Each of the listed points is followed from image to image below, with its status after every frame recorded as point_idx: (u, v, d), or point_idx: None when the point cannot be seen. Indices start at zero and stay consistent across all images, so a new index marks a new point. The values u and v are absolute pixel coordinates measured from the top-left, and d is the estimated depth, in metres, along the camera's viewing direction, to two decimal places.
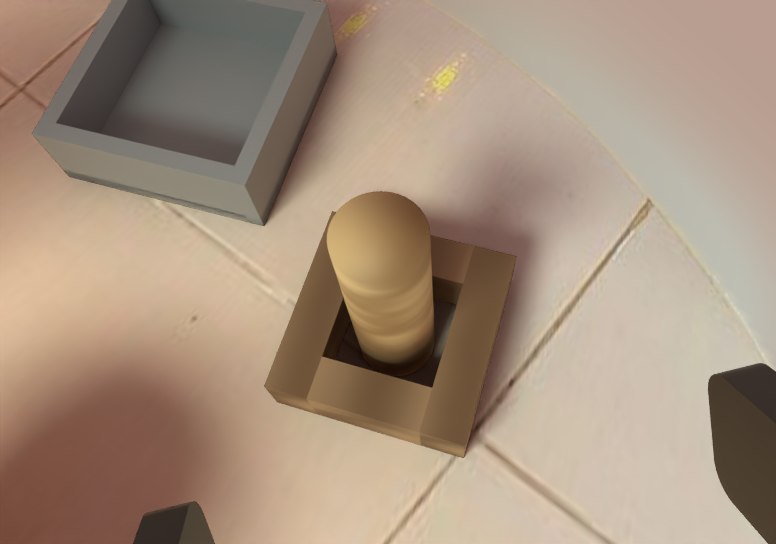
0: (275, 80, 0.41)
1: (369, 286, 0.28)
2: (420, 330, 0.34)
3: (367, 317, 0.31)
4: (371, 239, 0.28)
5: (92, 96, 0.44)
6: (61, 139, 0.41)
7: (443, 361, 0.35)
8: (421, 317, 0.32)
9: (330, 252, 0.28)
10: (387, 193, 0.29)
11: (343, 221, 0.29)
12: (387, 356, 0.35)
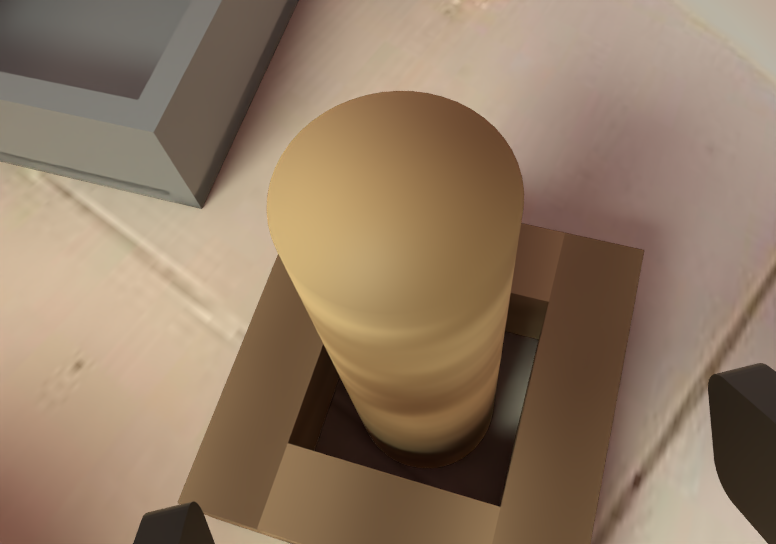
0: None
1: (373, 320, 0.11)
2: (478, 399, 0.17)
3: (370, 382, 0.14)
4: (377, 201, 0.11)
5: None
6: None
7: (520, 452, 0.18)
8: (484, 376, 0.16)
9: (274, 235, 0.11)
10: (413, 94, 0.12)
11: (308, 161, 0.12)
12: (411, 443, 0.18)
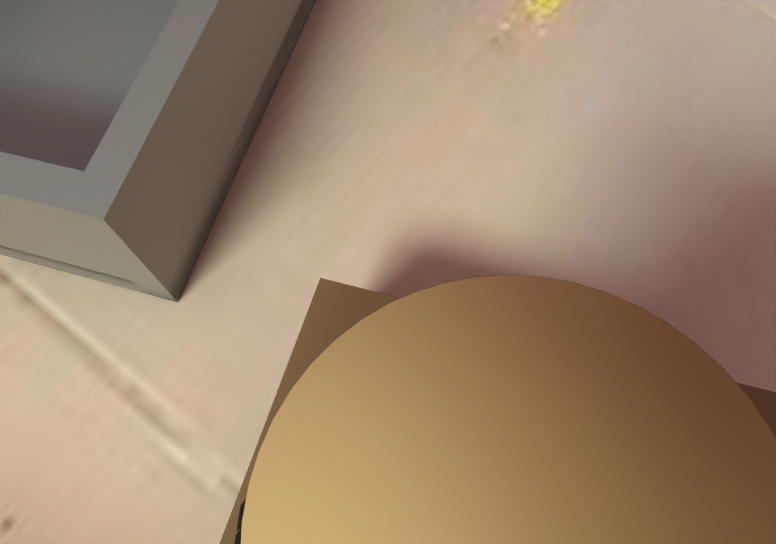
0: None
1: None
2: None
3: None
4: None
5: None
6: None
7: None
8: None
9: None
10: (542, 285, 0.06)
11: (329, 435, 0.06)
12: None
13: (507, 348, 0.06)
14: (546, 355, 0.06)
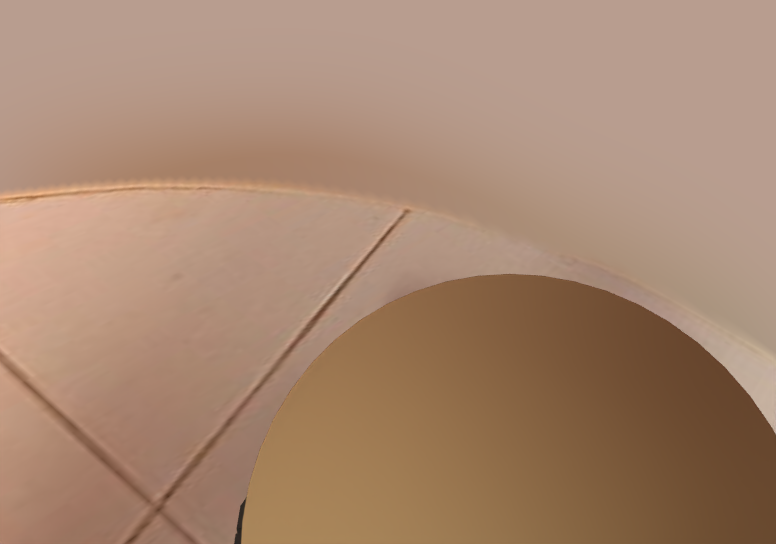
0: None
1: None
2: None
3: None
4: None
5: None
6: None
7: None
8: None
9: None
10: (544, 284, 0.06)
11: (330, 435, 0.06)
12: None
13: (508, 347, 0.06)
14: (547, 354, 0.06)
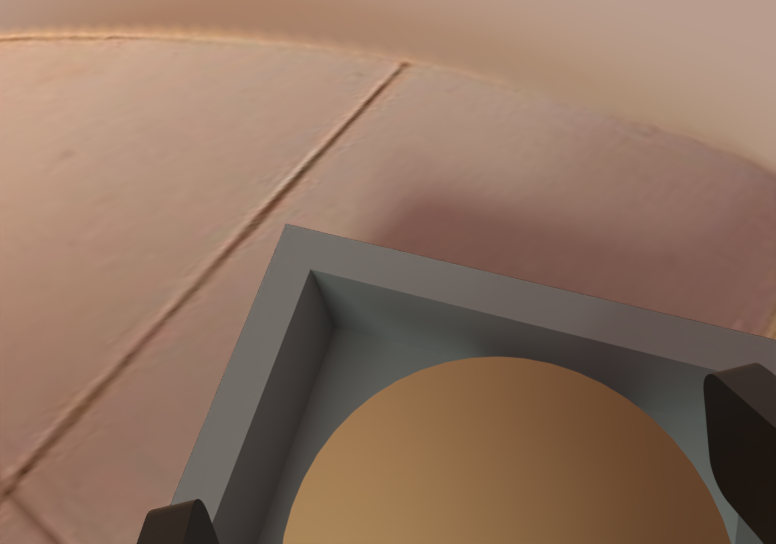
0: None
1: None
2: None
3: None
4: None
5: None
6: None
7: None
8: None
9: None
10: (526, 366, 0.07)
11: (349, 493, 0.07)
12: None
13: (496, 420, 0.07)
14: (528, 427, 0.07)
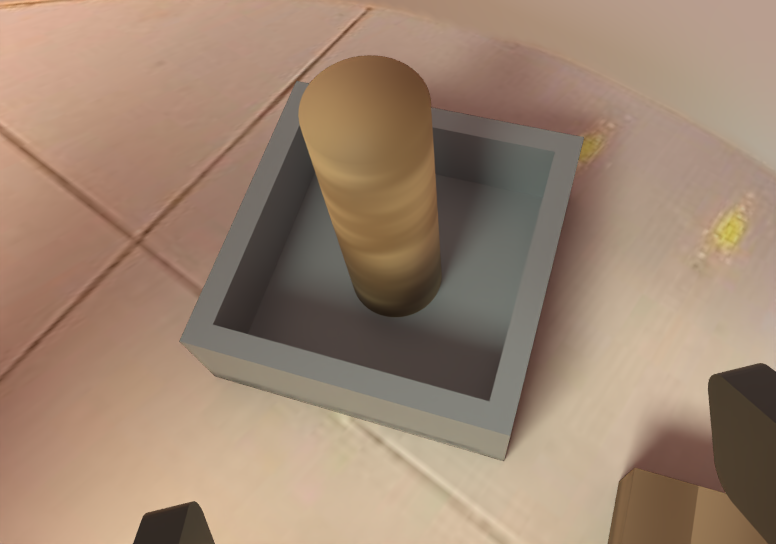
0: (529, 259, 0.28)
1: (352, 169, 0.21)
2: (421, 249, 0.27)
3: (354, 224, 0.25)
4: (355, 111, 0.22)
5: (252, 271, 0.31)
6: (224, 352, 0.28)
7: None
8: (422, 229, 0.26)
9: (302, 127, 0.22)
10: (376, 57, 0.23)
11: (320, 91, 0.22)
12: (382, 286, 0.29)
13: (366, 71, 0.23)
14: (375, 72, 0.23)
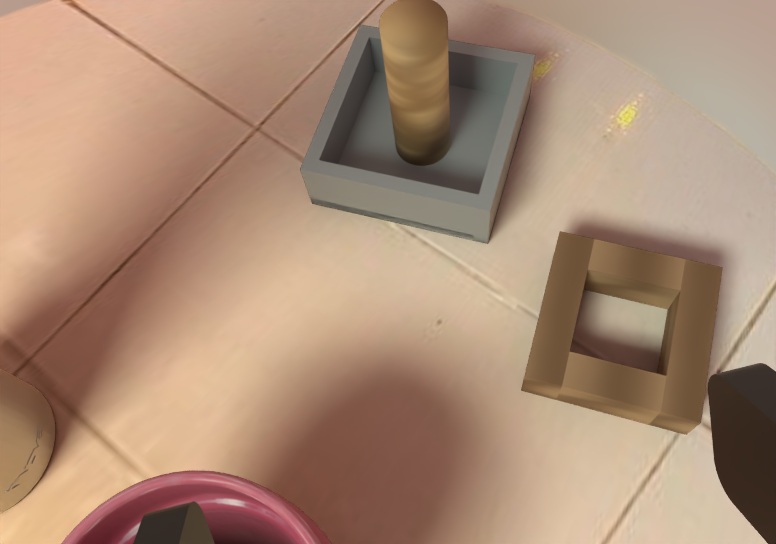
0: (501, 122, 0.49)
1: (407, 52, 0.42)
2: (440, 112, 0.48)
3: (404, 91, 0.46)
4: (408, 24, 0.43)
5: (337, 136, 0.52)
6: (326, 174, 0.49)
7: (673, 354, 0.43)
8: (441, 98, 0.47)
9: (381, 32, 0.43)
10: None
11: (389, 15, 0.43)
12: (416, 139, 0.50)
13: (413, 4, 0.43)
14: (418, 5, 0.43)
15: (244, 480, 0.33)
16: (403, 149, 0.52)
